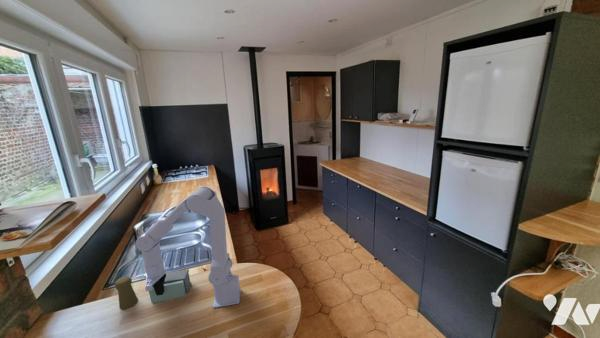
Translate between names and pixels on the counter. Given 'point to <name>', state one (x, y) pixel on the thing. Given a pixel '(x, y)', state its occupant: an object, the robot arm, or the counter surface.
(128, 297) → the cork
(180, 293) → the sage green bent plank
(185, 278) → the cupboard
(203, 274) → the counter surface
